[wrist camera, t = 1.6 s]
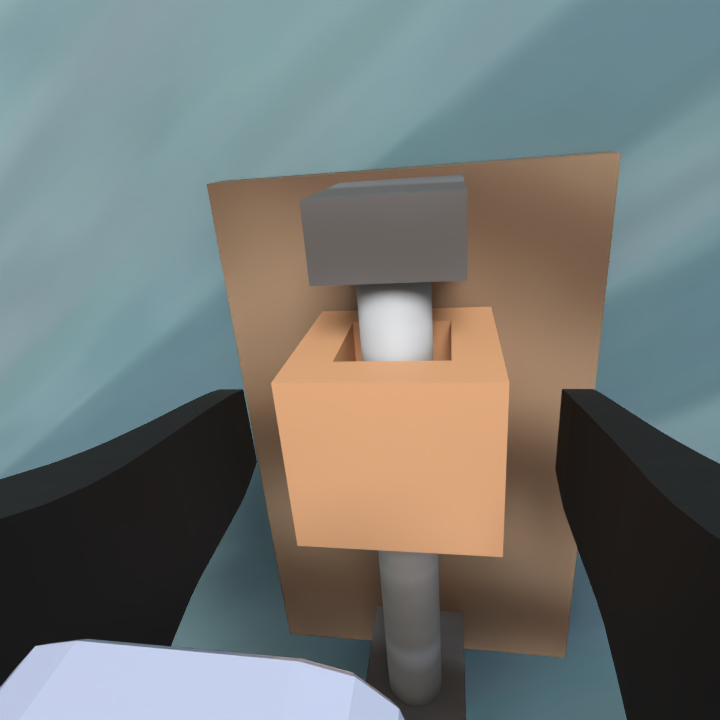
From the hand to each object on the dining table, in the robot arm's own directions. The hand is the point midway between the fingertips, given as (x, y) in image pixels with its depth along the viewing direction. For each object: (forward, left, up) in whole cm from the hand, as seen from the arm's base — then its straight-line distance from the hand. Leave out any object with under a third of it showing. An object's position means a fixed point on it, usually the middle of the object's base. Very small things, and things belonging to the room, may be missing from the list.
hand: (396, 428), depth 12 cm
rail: (-3, 0, -4) cm, 5 cm away
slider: (0, 0, -3) cm, 3 cm away
